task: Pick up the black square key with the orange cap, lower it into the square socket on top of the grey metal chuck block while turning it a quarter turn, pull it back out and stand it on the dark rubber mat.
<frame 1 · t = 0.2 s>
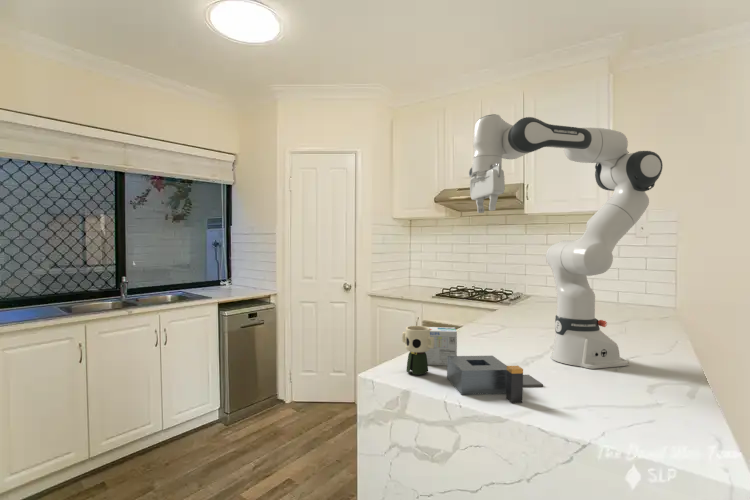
hand: (486, 211, 129), 48 cm above the table, tool pointing down, fingers open, 8 cm apart
character mug: (417, 373, 118), on the table
mat: (521, 381, 112), on the table
chuck block: (477, 385, 108), on the table
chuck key: (514, 400, 98), on the table
light bulb box: (438, 363, 129), on the table
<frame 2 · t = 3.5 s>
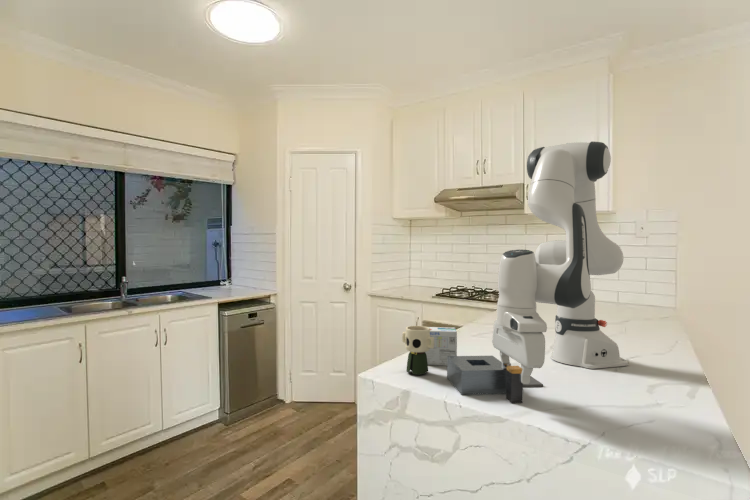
hand: (514, 376, 97), 6 cm above the table, tool pointing down, fingers open, 8 cm apart
nothing on the table moved.
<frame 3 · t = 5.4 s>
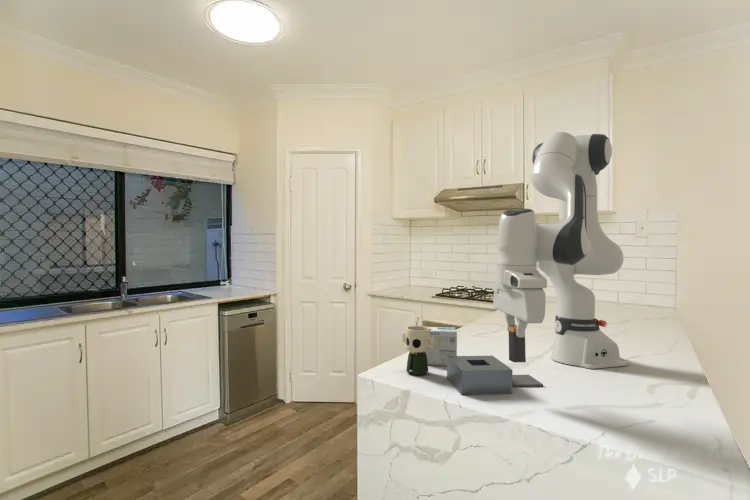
hand: (515, 334, 98), 16 cm above the table, tool pointing down, fingers closed on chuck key, 3 cm apart
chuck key: (517, 361, 98), point 10 cm above the table, touching gripper
everything else where it was.
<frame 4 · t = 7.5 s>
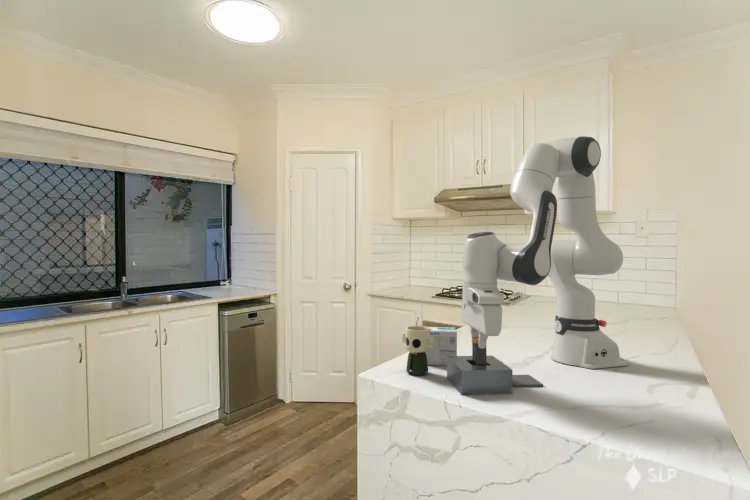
hand: (478, 345, 108), 10 cm above the table, tool pointing down, fingers closed on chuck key, 3 cm apart
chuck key: (479, 369, 107), point 4 cm above the table, tilted 6°, touching gripper
everything else where it was.
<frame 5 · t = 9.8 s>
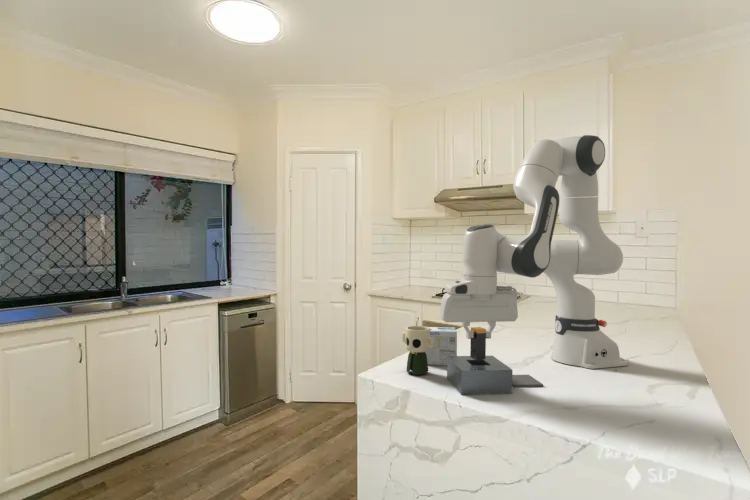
hand: (478, 338, 109), 12 cm above the table, tool pointing down, fingers closed on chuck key, 3 cm apart
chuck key: (477, 358, 109), point 7 cm above the table, touching gripper
everything else where it was.
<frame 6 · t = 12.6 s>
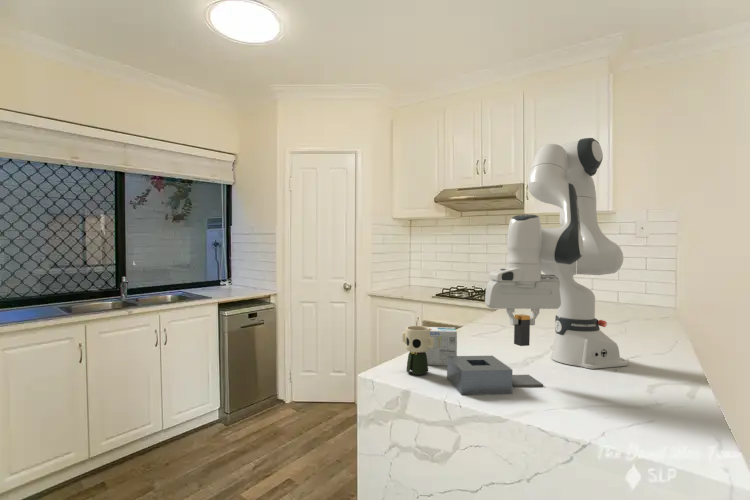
hand: (522, 325, 111), 16 cm above the table, tool pointing down, fingers closed on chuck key, 3 cm apart
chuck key: (521, 344, 111), point 10 cm above the table, touching gripper
everything else where it was.
when the fingers open (6 cm above the table, at t = 14.8 s): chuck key stays where it is, resting on mat.
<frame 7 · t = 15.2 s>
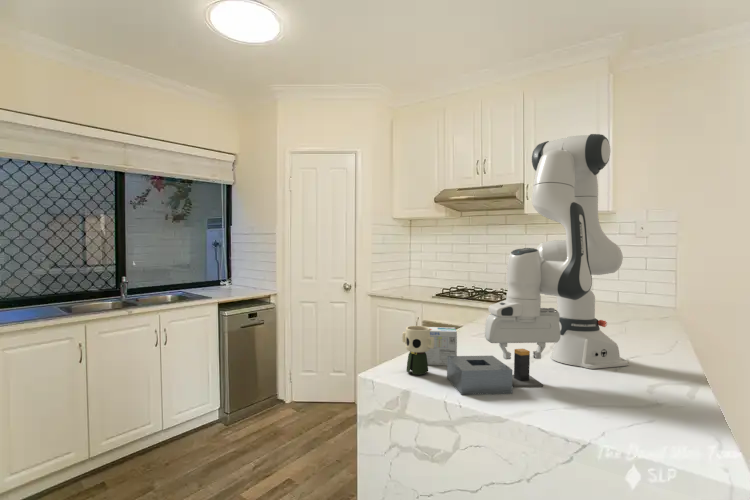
hand: (522, 358, 111), 6 cm above the table, tool pointing down, fingers open, 7 cm apart
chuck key: (521, 379, 112), point 1 cm above the table, touching mat
everything else where it was.
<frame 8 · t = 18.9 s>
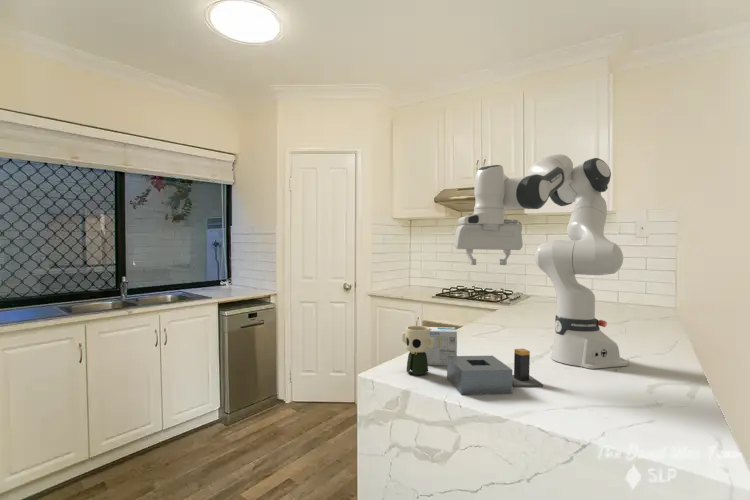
hand: (488, 264, 123), 31 cm above the table, tool pointing down, fingers open, 8 cm apart
nothing on the table moved.
at the end: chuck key inside the target area on the mat (0.2 cm from its centre), point 0.6 cm above the mat's base; the gripper is holding nothing; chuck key touching mat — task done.
